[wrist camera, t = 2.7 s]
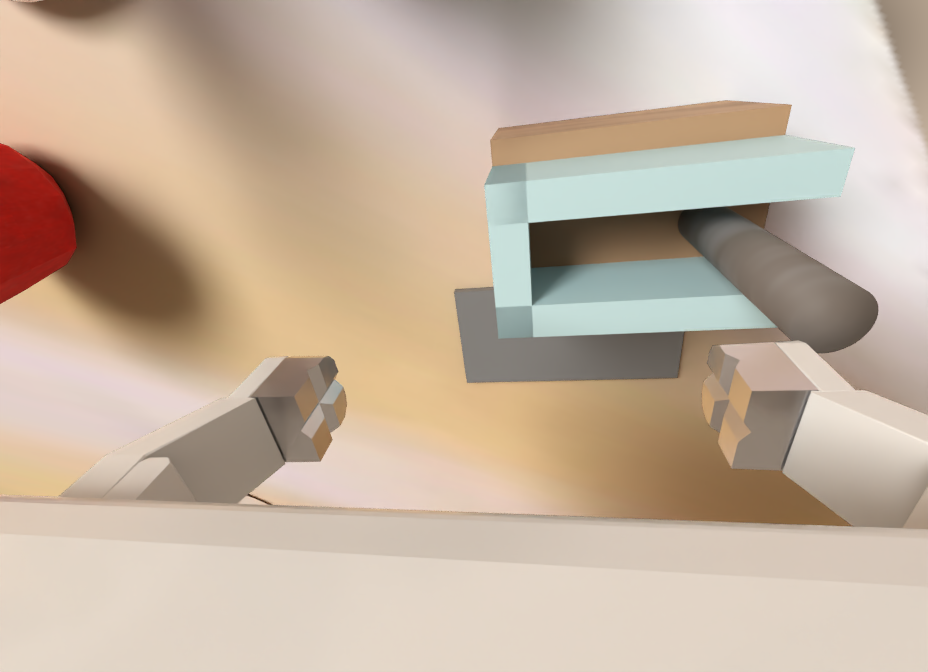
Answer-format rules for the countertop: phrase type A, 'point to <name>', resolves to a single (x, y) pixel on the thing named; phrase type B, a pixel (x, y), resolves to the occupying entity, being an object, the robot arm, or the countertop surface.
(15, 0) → the flower in vase
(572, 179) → the c link
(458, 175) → the countertop surface
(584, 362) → the mat
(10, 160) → the apple
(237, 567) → the robot arm
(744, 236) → the stand
